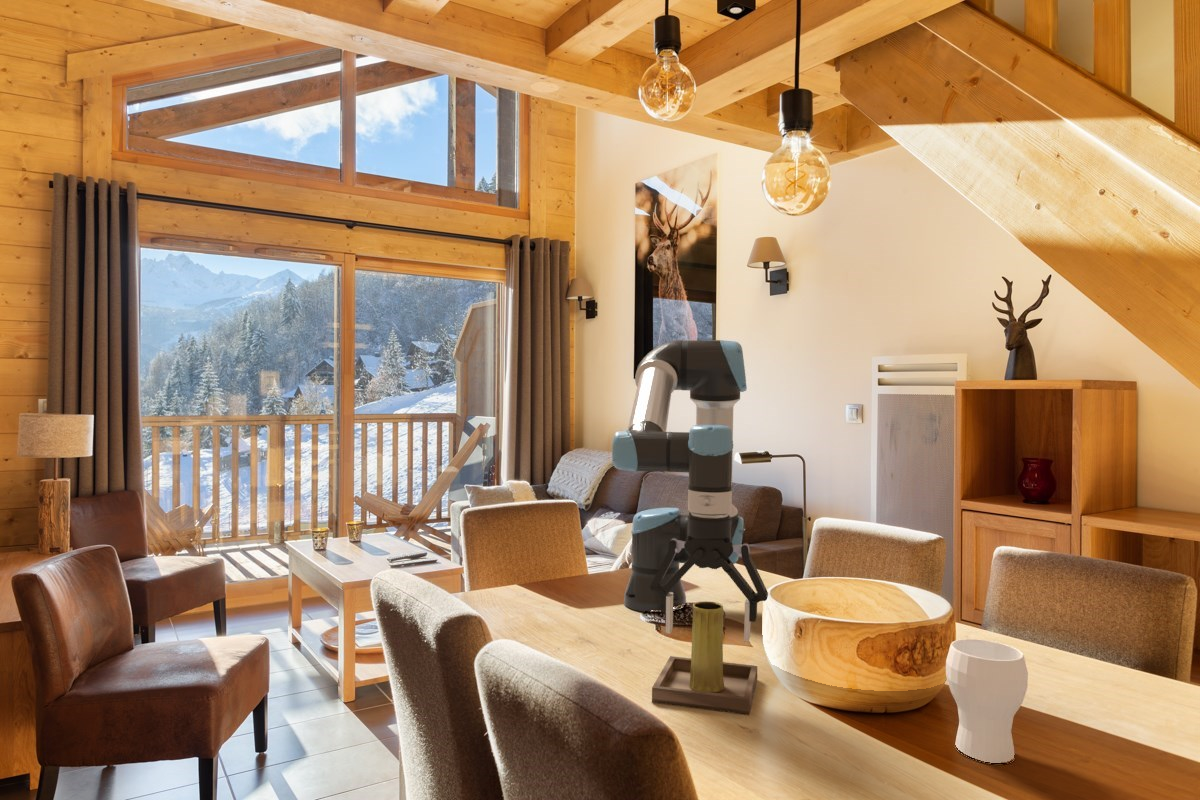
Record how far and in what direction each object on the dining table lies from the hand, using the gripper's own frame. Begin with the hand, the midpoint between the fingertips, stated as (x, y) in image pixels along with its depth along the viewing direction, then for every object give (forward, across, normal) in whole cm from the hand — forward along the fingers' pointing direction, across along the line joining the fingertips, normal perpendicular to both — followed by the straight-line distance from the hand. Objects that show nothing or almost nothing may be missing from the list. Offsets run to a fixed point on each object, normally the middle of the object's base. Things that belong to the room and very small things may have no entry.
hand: (707, 635), depth 132 cm
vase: (+9, 0, -1) cm, 9 cm away
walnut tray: (+10, 0, -1) cm, 10 cm away
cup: (+9, +42, -11) cm, 44 cm away
